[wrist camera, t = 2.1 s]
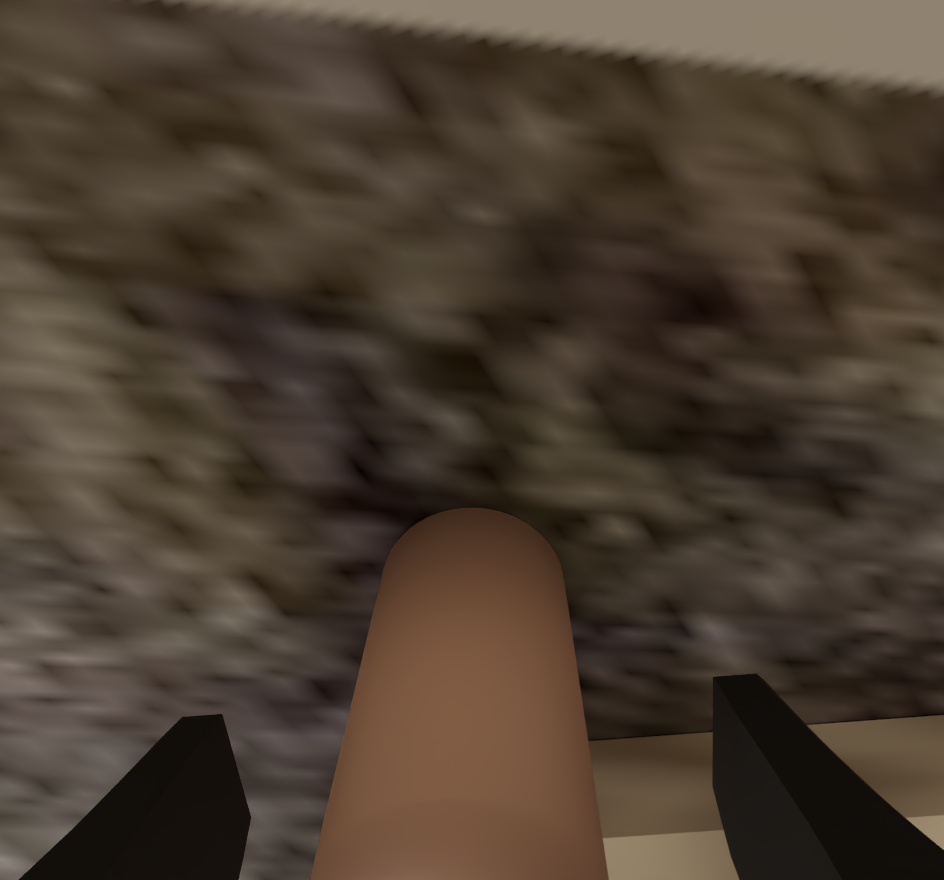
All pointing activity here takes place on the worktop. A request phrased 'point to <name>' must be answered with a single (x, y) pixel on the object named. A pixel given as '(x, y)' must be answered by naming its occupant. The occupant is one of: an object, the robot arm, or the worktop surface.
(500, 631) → the long pin
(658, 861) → the collar block
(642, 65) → the worktop surface
